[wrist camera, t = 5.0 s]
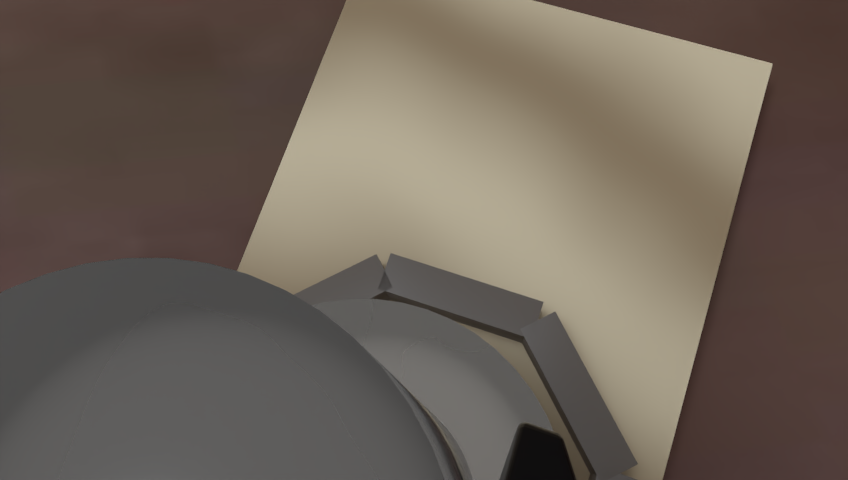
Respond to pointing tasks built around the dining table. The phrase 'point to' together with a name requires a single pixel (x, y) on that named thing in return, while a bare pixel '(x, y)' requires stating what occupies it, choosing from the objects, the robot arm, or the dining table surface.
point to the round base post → (242, 382)
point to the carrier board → (524, 199)
